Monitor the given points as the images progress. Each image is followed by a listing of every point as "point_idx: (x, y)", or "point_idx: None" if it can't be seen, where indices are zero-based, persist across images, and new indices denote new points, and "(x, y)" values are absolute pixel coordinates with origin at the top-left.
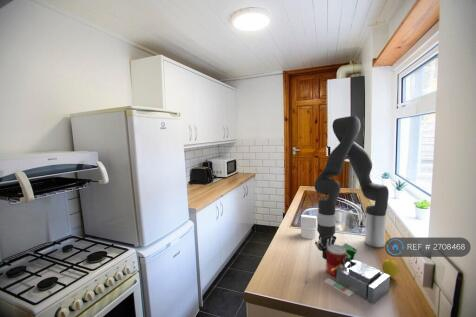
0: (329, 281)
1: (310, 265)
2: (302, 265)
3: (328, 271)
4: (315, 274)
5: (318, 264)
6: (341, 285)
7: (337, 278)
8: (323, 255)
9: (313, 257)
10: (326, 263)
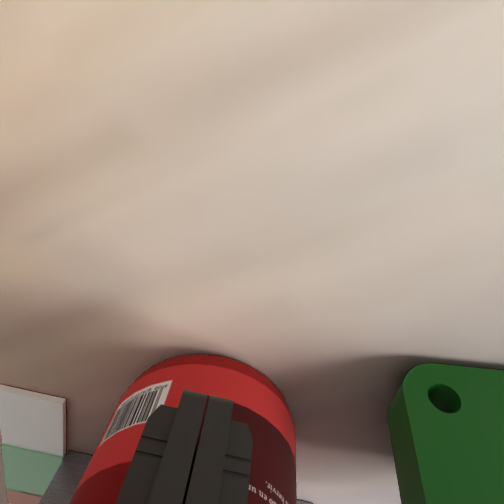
0: (26, 420)
1: (122, 179)
2: (31, 87)
3: (118, 403)
4: (18, 295)
5: (221, 249)
6: None
7: (43, 501)
8: (136, 460)
9: (357, 117)
10: (128, 429)
